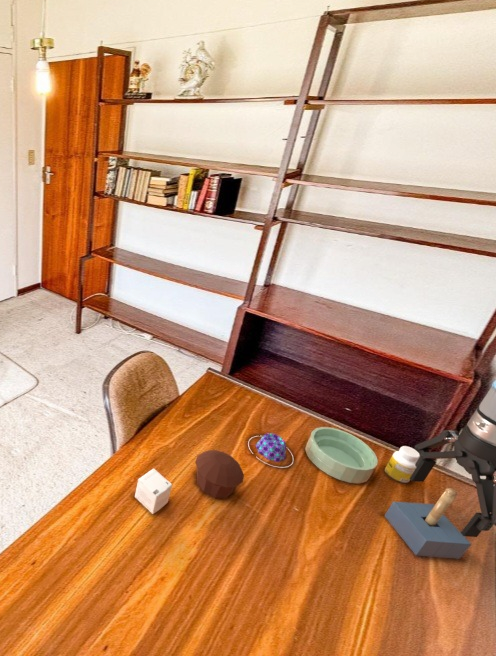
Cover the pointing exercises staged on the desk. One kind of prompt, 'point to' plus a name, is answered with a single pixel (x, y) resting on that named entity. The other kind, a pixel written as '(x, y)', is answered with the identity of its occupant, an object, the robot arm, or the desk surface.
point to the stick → (440, 507)
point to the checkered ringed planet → (272, 448)
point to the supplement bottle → (402, 464)
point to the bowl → (341, 455)
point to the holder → (426, 531)
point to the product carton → (153, 491)
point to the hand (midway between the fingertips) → (440, 505)
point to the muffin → (218, 473)
